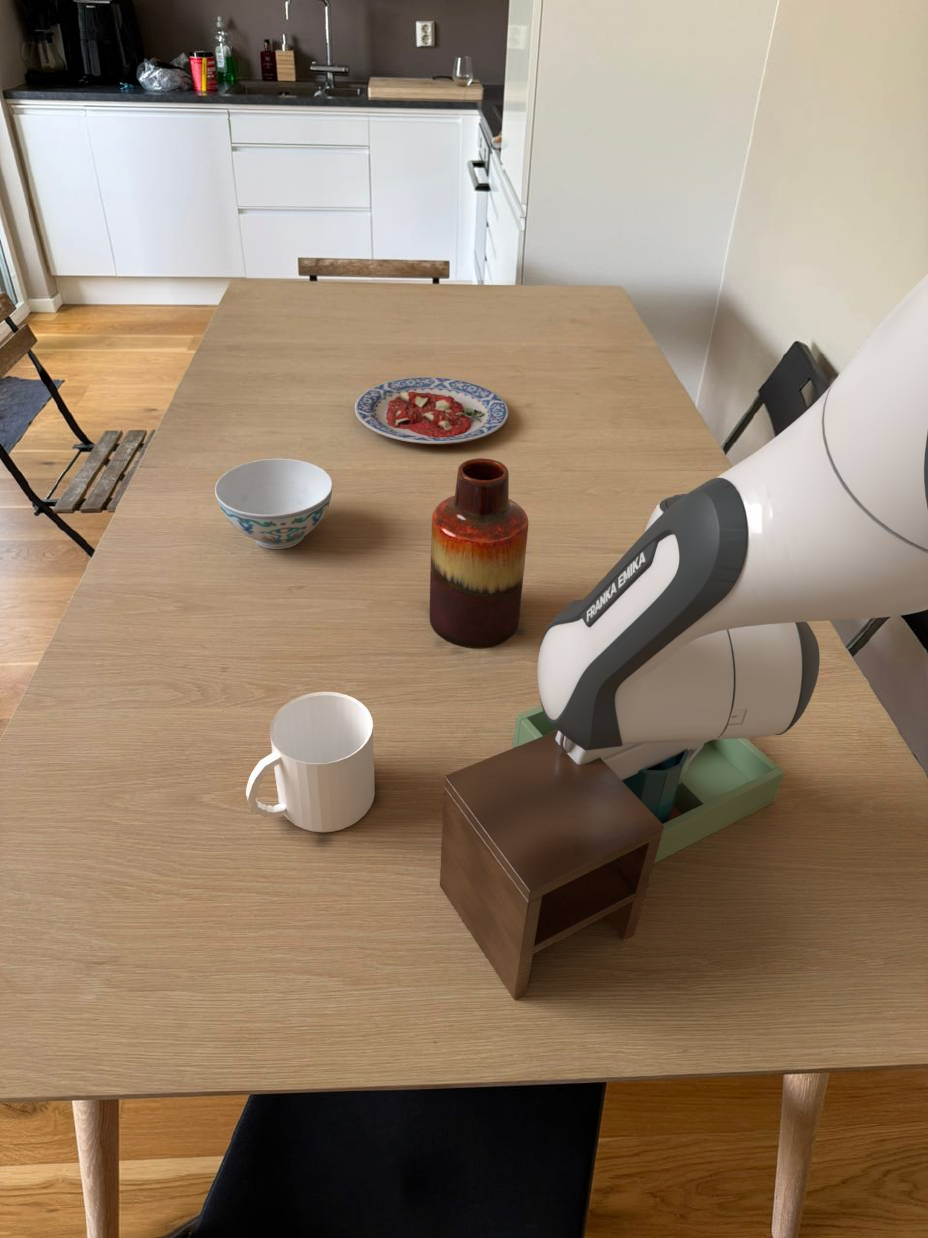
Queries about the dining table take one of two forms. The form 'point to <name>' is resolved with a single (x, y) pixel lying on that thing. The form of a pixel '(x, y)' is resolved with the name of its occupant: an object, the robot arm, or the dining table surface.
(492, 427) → the ceramic plate
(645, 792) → the cup
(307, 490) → the chinaware
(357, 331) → the dining table surface
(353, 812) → the mug
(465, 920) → the shelf
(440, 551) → the vase
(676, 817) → the tray
